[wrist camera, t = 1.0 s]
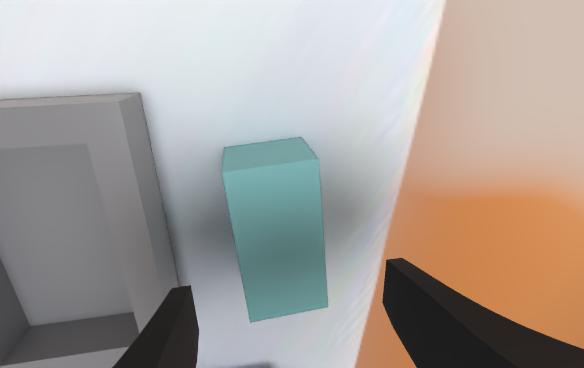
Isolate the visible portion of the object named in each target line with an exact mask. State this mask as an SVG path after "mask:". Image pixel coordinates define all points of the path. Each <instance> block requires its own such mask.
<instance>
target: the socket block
mask: <svg viewBox="0 0 584 368" xmlns="http://www.w3.org/2000/svg"><path fill="white" fill-rule="evenodd" d="M175 287H179V283H178V278H177V273H176V268H175V263H174V258H173V253H172V248H171V243H170V238H169V233H168V229H167V224H166V219H165V214H164V209H163V204H162V199H161V194H160V189H159V184H158V179H157V174H156V169H155V164H154V160H153V155H152V150H151V145H150V140H149V135H148V130H147V125H146V120H145V115H144V110H143V105H142V100H141V95H140V93H125V94H105V95H85V96H65V97H45V98H25V99H5V100H0V368H112V367H113V366H114V365H115V364H116V363H117V361H118V360H119V359H120V358H121V356H122V355H123V354H124V353H125V352H126V350H127V349H128V348H129V347H130V345H131V344H132V343H133V342H134V340H135V339H136V338H137V337H138V335H139V334H140V333H141V331H142V330H143V328H144V327H145V326H146V324H147V323H148V322H149V320H150V319H151V318H152V316H153V315H154V313H155V312H156V310H157V309H158V308H159V306H160V305H161V303H162V302H163V300H164V299H165V297H166V296H167V294H168V293H169V291H170V290H171V289H172V288H175Z"/></svg>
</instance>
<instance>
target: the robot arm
mask: <svg viewBox="0 0 584 368" xmlns="http://www.w3.org/2000/svg"><path fill="white" fill-rule="evenodd" d="M383 305H384V307H385V310H386V312H387V314H388V317H389V319H390V321H391V324H392V326H393V328H394V330H395V331H396V333H397V335H398V336H399V338H400V340H401V341H402V343H403V345H404V347H405V349H406V350H407V352H408V354H409V355H410V357H411V359H412V360H413V362H414V364H415V365H416V367H417V368H584V349H581V348H579V347H576V346H573V345H570V344H567V343H565V342H562V341H559V340H557V339H554V338H552V337H549V336H546V335H544V334H542V333H539V332H537V331H534V330H532V329H529V328H527V327H525V326H522V325H520V324H518V323H516V322H513V321H511V320H509V319H507V318H505V317H503V316H501V315H499V314H497V313H495V312H493V311H491V310H489V309H487V308H485V307H483V306H481V305H479V304H478V303H476V302H474V301H472V300H470V299H468V298H467V297H465V296H463V295H461V294H460V293H458V292H456V291H455V290H453V289H451V288H449V287H448V286H446V285H445V284H443V283H441V282H440V281H438V280H437V279H435V278H433V277H432V276H430V275H429V274H427V273H425V272H424V271H422V270H421V269H419V268H418V267H416V266H415V265H413V264H411V263H410V262H408V261H406V260H405V259H403V258H398V259H389V260H386V271H385V281H384V292H383ZM198 338H199V328H198V322H197V317H196V312H195V306H194V301H193V296H192V290H191V285H190V286H183V287H175V288H172V289H171V290H170V291H169V293H168V294H167V296H166V297H165V299H164V300H163V302H162V303H161V305H160V306H159V308H158V309H157V310H156V312H155V313H154V315H153V316H152V318H151V319H150V320H149V322H148V323H147V324H146V326H145V327H144V328H143V330H142V331H141V333H140V334H139V335H138V337H137V338H136V339H135V340H134V342H133V343H132V344H131V345H130V347H129V348H128V349H127V350H126V352H125V353H124V354H123V355H122V356H121V358H120V359H119V360H118V361H117V363H116V364H115V365H114V366H113V367H112V368H196V363H197V354H198Z"/></svg>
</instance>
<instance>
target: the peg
mask: <svg viewBox="0 0 584 368" xmlns="http://www.w3.org/2000/svg"><path fill="white" fill-rule="evenodd" d="M222 177H223V182H224V187H225V193H226V198H227V203H228V208H229V214H230V219H231V224H232V229H233V235H234V240H235V245H236V250H237V256H238V261H239V266H240V271H241V277H242V282H243V287H244V292H245V298H246V303H247V308H248V313H249V319H250V322H255V321H260V320H265V319H270V318H275V317H281V316H286V315H291V314H296V313H301V312H306V311H311V310H316V309H321V308H326V307H328V296H327V280H326V265H325V250H324V235H323V220H322V205H321V189H320V174H319V159H318V157H317V156H316V155H315V154H314V152H313V151H312V150H311V149H310V147H309V146H308V145H307V144H306V142H305V141H304V140H303V139H302V137H298V138H290V139H283V140H276V141H268V142H261V143H253V144H246V145H239V146H231V147H224V156H223V165H222Z"/></svg>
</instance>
